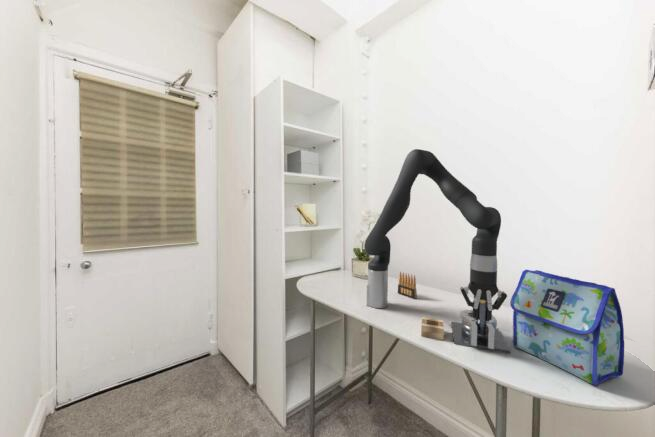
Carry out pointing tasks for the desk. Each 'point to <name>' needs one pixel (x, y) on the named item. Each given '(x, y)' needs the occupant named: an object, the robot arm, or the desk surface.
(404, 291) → the ammunition clip
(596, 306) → the lunch bag
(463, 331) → the chuck base
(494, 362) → the desk surface
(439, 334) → the holder
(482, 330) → the dark grey cylinder
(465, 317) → the grey cube ring
